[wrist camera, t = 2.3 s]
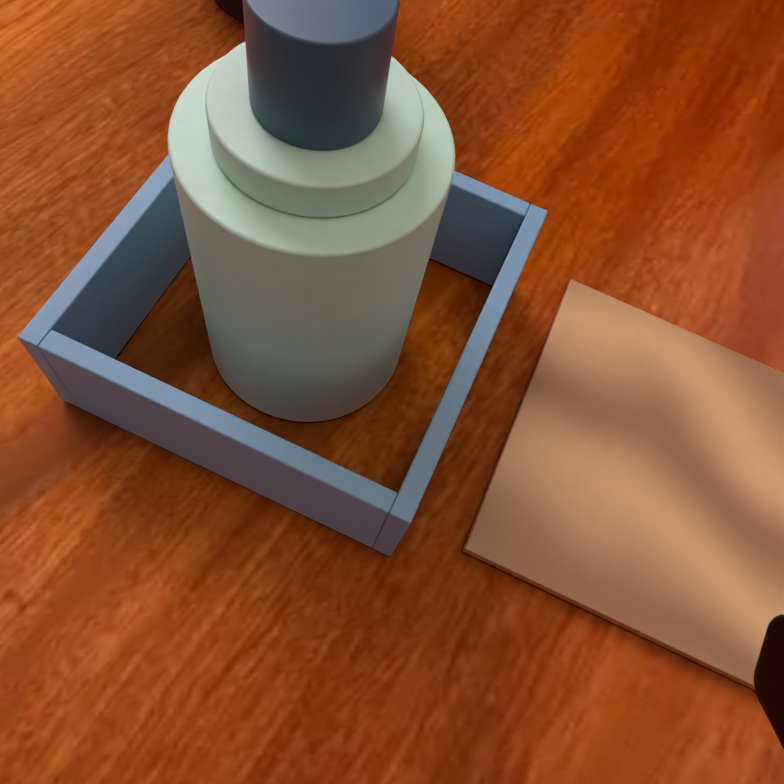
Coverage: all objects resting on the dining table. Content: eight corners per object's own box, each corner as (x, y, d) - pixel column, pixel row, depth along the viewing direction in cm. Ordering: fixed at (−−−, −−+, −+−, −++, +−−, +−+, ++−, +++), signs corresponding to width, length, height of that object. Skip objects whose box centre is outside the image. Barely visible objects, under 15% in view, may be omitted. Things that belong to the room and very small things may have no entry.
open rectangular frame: (389, 557, 21) (411, 523, 17) (62, 400, 22) (16, 336, 18) (512, 281, 26) (548, 210, 22) (242, 161, 26) (234, 73, 23)
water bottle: (352, 455, 22) (415, 182, 11) (172, 371, 22) (54, 23, 11) (429, 303, 25) (542, -39, 14) (268, 231, 25) (249, -160, 14)
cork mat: (802, 714, 20) (811, 713, 20) (461, 551, 21) (464, 548, 21) (846, 408, 25) (855, 404, 25) (567, 284, 26) (571, 278, 26)
